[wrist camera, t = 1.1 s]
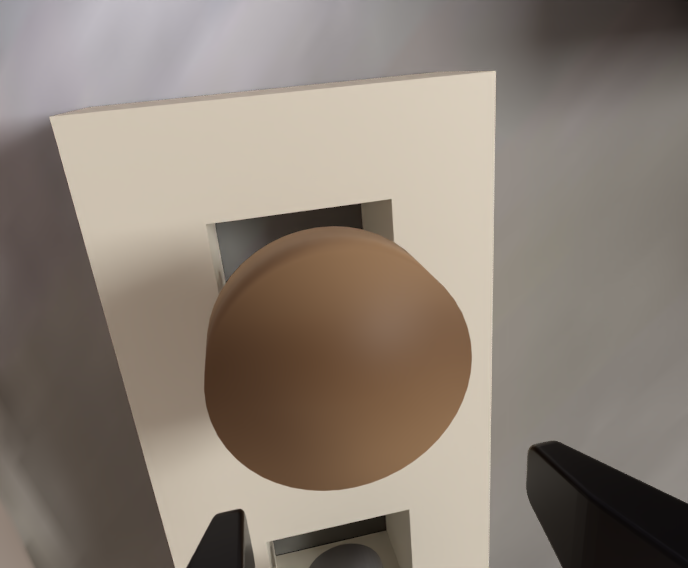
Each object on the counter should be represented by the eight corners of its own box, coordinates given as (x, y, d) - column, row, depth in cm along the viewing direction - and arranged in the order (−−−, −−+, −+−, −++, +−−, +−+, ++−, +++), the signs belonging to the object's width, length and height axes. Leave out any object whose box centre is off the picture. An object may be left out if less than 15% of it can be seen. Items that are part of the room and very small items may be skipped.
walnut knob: (408, 362, 17) (471, 461, 13) (227, 396, 16) (229, 514, 12) (399, 185, 15) (471, 231, 11) (191, 213, 14) (177, 275, 10)
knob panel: (450, 563, 26) (487, 643, 22) (217, 621, 24) (217, 717, 21) (440, 71, 18) (495, 70, 14) (88, 107, 16) (48, 116, 13)
